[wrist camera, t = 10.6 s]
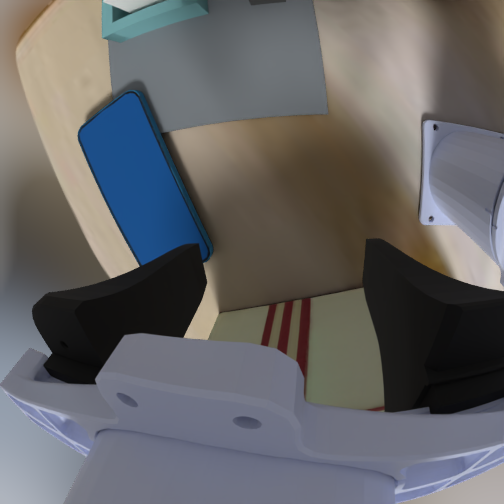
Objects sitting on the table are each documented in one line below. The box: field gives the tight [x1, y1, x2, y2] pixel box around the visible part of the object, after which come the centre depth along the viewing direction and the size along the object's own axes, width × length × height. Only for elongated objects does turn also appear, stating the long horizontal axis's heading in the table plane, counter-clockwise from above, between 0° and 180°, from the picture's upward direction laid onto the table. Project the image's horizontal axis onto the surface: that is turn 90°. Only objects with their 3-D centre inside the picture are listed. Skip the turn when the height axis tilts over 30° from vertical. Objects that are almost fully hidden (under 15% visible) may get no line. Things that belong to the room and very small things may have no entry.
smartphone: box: [78, 90, 213, 266], centre depth 21 cm, size 7×1×15 cm
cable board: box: [102, 0, 328, 133], centre depth 13 cm, size 16×18×4 cm
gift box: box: [208, 288, 384, 412], centre depth 20 cm, size 17×18×17 cm
